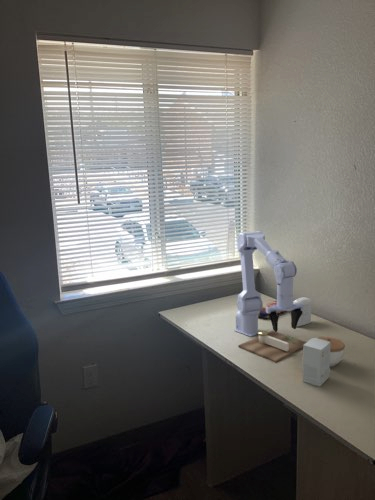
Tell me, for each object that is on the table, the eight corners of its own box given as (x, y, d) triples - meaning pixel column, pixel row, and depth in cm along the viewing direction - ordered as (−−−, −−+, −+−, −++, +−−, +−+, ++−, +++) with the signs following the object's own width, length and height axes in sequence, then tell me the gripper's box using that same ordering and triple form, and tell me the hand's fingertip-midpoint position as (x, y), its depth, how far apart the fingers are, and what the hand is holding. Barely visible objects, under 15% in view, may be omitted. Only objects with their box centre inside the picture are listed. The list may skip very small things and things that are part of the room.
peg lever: (255, 342, 165) (255, 332, 164) (261, 339, 167) (262, 329, 166) (284, 353, 154) (284, 342, 153) (290, 350, 157) (291, 339, 156)
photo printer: (304, 320, 190) (305, 294, 188) (312, 323, 186) (313, 297, 184) (289, 325, 184) (290, 299, 182) (296, 328, 181) (297, 301, 178)
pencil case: (294, 314, 199) (294, 304, 198) (262, 321, 190) (262, 311, 189) (279, 307, 208) (279, 298, 207) (248, 314, 199) (248, 304, 198)
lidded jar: (349, 368, 144) (351, 343, 142) (321, 370, 143) (322, 345, 141) (334, 354, 155) (335, 331, 153) (307, 357, 153) (308, 333, 151)
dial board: (238, 347, 163) (238, 344, 162) (272, 332, 177) (272, 329, 177) (275, 362, 149) (275, 359, 149) (309, 344, 163) (309, 342, 163)
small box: (311, 371, 142) (313, 336, 139) (329, 377, 138) (331, 341, 135) (301, 381, 136) (302, 344, 133) (319, 387, 132) (321, 349, 129)
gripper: (271, 299, 145) (271, 335, 147) (308, 295, 149) (307, 330, 151) (263, 294, 152) (263, 328, 154) (298, 290, 155) (297, 324, 158)
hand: (284, 329), depth 153 cm, fingers open, 7 cm apart
